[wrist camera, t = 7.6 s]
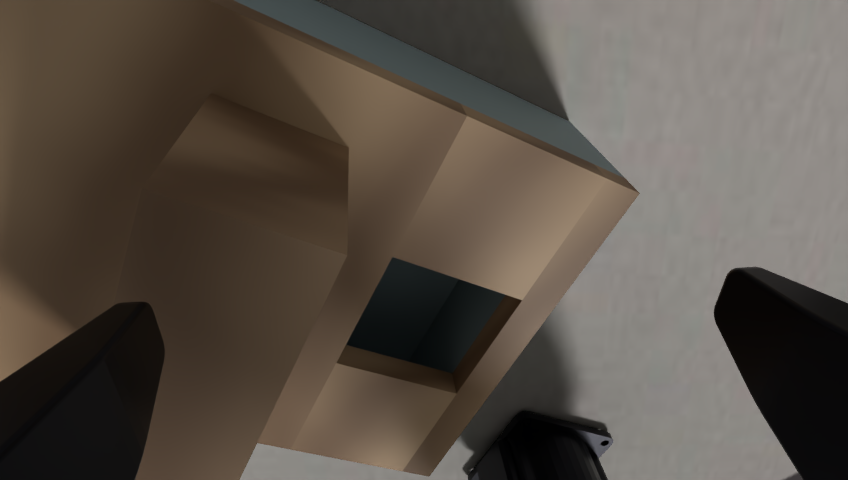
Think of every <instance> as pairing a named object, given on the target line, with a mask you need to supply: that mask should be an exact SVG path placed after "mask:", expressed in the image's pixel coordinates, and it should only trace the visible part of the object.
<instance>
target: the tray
mask: <svg viewBox="0 0 848 480" xmlns="http://www.w3.org/2000/svg"><path fill="white" fill-rule="evenodd" d="M234 1H236V2H238V3H240V4H243V5H245V6H247V7H249V8H251V9H254V10H256V11H258V12H260V13H262V14H265V15H267V16H269V17H271V18H273V19H276V20H278V21H280V22H282V23H284V24H287V25H289V26H291V27H293V28H295V29H298V30H300V31H302V32H304V33H306V34H309V35H311V36H313V37H315V38H317V39H320V40H322V41H324V42H326V43H328V44H331V45H333V46H335V47H337V48H339V49H342V50H344V51H346V52H348V53H350V54H353V55H355V56H357V57H359V58H361V59H364V60H366V61H368V62H370V63H372V64H375V65H377V66H379V67H381V68H383V69H386V70H388V71H390V72H392V73H394V74H397V75H399V76H401V77H403V78H405V79H408V80H410V81H412V82H414V83H416V84H419V85H421V86H423V87H425V88H427V89H430V90H432V91H434V92H436V93H438V94H441V95H443V96H445V97H447V98H449V99H452V100H454V101H456V102H458V103H460V104H463V105H465V106H467V107H469V108H471V109H474V110H476V111H478V112H480V113H482V114H485V115H487V116H489V117H491V118H493V119H496V120H498V121H500V122H502V123H504V124H507V125H509V126H511V127H513V128H515V129H518V130H520V131H522V132H524V133H526V134H529V135H531V136H533V137H535V138H537V139H540V140H542V141H544V142H546V143H548V144H551V145H553V146H555V147H557V148H559V149H562V150H564V151H566V152H568V153H570V154H573V155H575V156H577V157H579V158H581V159H584V160H586V161H588V162H590V163H592V164H595V165H597V166H599V167H601V168H603V169H606V170H608V171H610V172H612V173H614V174H617V175H619V176H621V177H623V176H622V175H621V174H620V173H619V172H618V171H617V170H616V169H615V168H614V167H613V166H612V164H611V163H610V162H609V161H608V160H607V159H606V158H605V157H604V156H603V155H602V154H601V153H600V152H599V151H598V150H597V149H596V148H595V147H594V146H593V145H592V144H591V143H590V142H589V141H588V140H587V139H586V138H585V137H584V136H583V135H582V134H581V133H580V132H579V131H578V130H577V129H576V128H575V127H574V126H573V125H572V123H571V122H569V121H567V120H565V119H563V118H561V117H559V116H557V115H555V114H553V113H551V112H548V111H546V110H544V109H542V108H540V107H538V106H536V105H534V104H532V103H530V102H528V101H525V100H523V99H521V98H519V97H517V96H515V95H513V94H511V93H509V92H507V91H505V90H502V89H500V88H498V87H496V86H494V85H492V84H490V83H488V82H486V81H484V80H481V79H479V78H477V77H475V76H473V75H471V74H469V73H467V72H465V71H463V70H461V69H458V68H456V67H454V66H452V65H450V64H448V63H446V62H444V61H442V60H440V59H438V58H435V57H433V56H431V55H429V54H427V53H425V52H423V51H421V50H419V49H417V48H415V47H412V46H410V45H408V44H406V43H404V42H402V41H400V40H398V39H396V38H394V37H392V36H389V35H387V34H385V33H383V32H381V31H379V30H377V29H375V28H373V27H371V26H369V25H366V24H364V23H362V22H360V21H358V20H356V19H354V18H352V17H350V16H348V15H346V14H343V13H341V12H339V11H337V10H335V9H333V8H331V7H329V6H327V5H325V4H323V3H320V2H318V1H316V0H234ZM623 178H624V177H623ZM504 296H505V294H502V293H499V292H496V291H493V290H490V289H487V288H484V287H481V286H478V285H475V284H472V283H469V282H466V281H463V280H460V279H457V278H454V277H451V276H448V275H445V274H442V273H439V272H436V271H433V270H430V269H427V268H424V267H421V266H418V265H415V264H412V263H409V262H406V261H403V260H400V259H397V258H394V257H392V259H391V261H390V263H389V264H388V266H387V268H386V270H385V272H384V274H383V276H382V278H381V280H380V281H379V283H378V285H377V287H376V289H375V291H374V293H373V295H372V297H371V298H370V300H369V302H368V304H367V306H366V308H365V310H364V312H363V314H362V315H361V317H360V319H359V321H358V323H357V325H356V327H355V329H354V330H353V332H352V334H351V336H350V338H349V340H348V342H347V344H346V345H349V346H352V347H356V348H360V349H363V350H367V351H371V352H375V353H378V354H382V355H386V356H390V357H393V358H397V359H401V360H404V361H408V362H412V363H416V364H419V365H423V366H427V367H431V368H434V369H438V370H442V371H445V372H449V373H453V372H454V370H455V369H456V367H457V366H458V364H459V363H460V361H461V360H462V358H463V357H464V355H465V354H466V352H467V351H468V349H469V348H470V347H471V345H472V344H473V342H474V341H475V339H476V338H477V336H478V335H479V333H480V332H481V330H482V329H483V327H484V326H485V324H486V323H487V321H488V320H489V319H490V317H491V316H492V314H493V313H494V311H495V310H496V308H497V307H498V305H499V304H500V302H501V301H502V299H503V298H504Z"/></svg>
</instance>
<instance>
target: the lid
mask: <svg viewBox="0 0 848 480" xmlns="http://www.w3.org/2000/svg"><path fill="white" fill-rule="evenodd" d="M639 194H640V193H639V192H638V191H637V190H636V189H635V188H634V187H633V186H632V185H631V184H630V183H629V182H628V181H627V180H626V179H625V178H623V177H621V176H619V175H617V174H614V173H612V172H610V171H608V170H606V169H603V168H601V167H599V166H597V165H595V164H592V163H590V162H588V161H586V160H584V159H581V158H579V157H577V156H575V155H573V154H570V153H568V152H566V151H564V150H562V149H559V148H557V147H555V146H553V145H551V144H548V143H546V142H544V141H542V140H540V139H537V138H535V137H533V136H531V135H529V134H526V133H524V132H522V131H520V130H518V129H515V128H513V127H511V126H509V125H507V124H504V123H502V122H500V121H498V120H496V119H493V118H491V117H489V116H487V115H485V114H482V113H480V112H478V111H476V110H474V109H471V108H469V107H467V106H465V105H463V104H460V103H458V102H456V101H454V100H452V99H449V98H447V97H445V96H443V95H441V94H438V93H436V92H434V91H432V90H430V89H427V88H425V87H423V86H421V85H419V84H416V83H414V82H412V81H410V80H408V79H405V78H403V77H401V76H399V75H397V74H394V73H392V72H390V71H388V70H386V69H383V68H381V67H379V66H377V65H375V64H372V63H370V62H368V61H366V60H364V59H361V58H359V57H357V56H355V55H353V54H350V53H348V52H346V51H344V50H342V49H339V48H337V47H335V46H333V45H331V44H328V43H326V42H324V41H322V40H320V39H317V38H315V37H313V36H311V35H309V34H306V33H304V32H302V31H300V30H298V29H295V28H293V27H291V26H289V25H287V24H284V23H282V22H280V21H278V20H276V19H273V18H271V17H269V16H267V15H265V14H262V13H260V12H258V11H256V10H254V9H251V8H249V7H247V6H245V5H243V4H240V3H238V2H236V1H234V0H0V381H2V380H3V379H5V378H6V377H8V376H9V375H11V374H12V373H14V372H15V371H17V370H18V369H20V368H21V367H23V366H24V365H26V364H27V363H29V362H30V361H32V360H33V359H35V358H36V357H38V356H39V355H40V354H42V353H43V352H45V351H46V350H48V349H49V348H51V347H52V346H54V345H55V344H57V343H58V342H60V341H61V340H63V339H64V338H66V337H67V336H69V335H70V334H72V333H73V332H75V331H76V330H78V329H79V328H81V327H82V326H84V325H85V324H87V323H88V322H90V321H91V320H93V319H94V318H96V317H97V316H99V315H100V314H102V313H103V312H105V311H106V310H108V309H109V308H111V307H112V306H114V305H115V304H118V303H123V302H141V301H144V302H147V303H149V304H150V305H151V307H152V309H153V311H154V314H155V317H156V320H157V323H158V326H159V329H160V332H161V335H162V339H163V342H164V346H165V358H164V364H163V368H162V373H161V377H160V382H159V387H158V391H157V396H156V400H155V405H154V410H153V414H152V419H151V423H150V428H149V433H148V437H147V441H146V445H145V449H144V453H143V457H142V460H141V463H140V466H139V470H138V473H137V475H136V478H135V480H239V479H240V477H241V475H242V473H243V471H244V469H245V467H246V465H247V463H248V461H249V459H250V457H251V455H252V452H253V450H254V448H255V446H256V444H257V443H260V444H265V445H271V446H276V447H281V448H286V449H291V450H296V451H301V452H306V453H312V454H317V455H322V456H327V457H332V458H337V459H342V460H347V461H353V462H358V463H363V464H368V465H373V466H378V467H383V468H388V469H393V470H399V471H404V472H409V473H414V474H419V475H424V476H430V475H431V473H432V472H433V471H434V469H435V468H436V466H437V465H438V464H439V462H440V461H441V460H442V458H443V457H444V456H445V454H446V453H447V452H448V450H449V449H450V448H451V446H452V445H453V444H454V442H455V441H456V440H457V438H458V437H459V436H460V434H461V433H462V432H463V430H464V429H465V428H466V426H467V425H468V423H469V422H470V421H471V419H472V418H473V417H474V415H475V414H476V413H477V411H478V410H479V409H480V407H481V406H482V405H483V403H484V402H485V401H486V399H487V398H488V397H489V395H490V394H491V393H492V391H493V390H494V389H495V387H496V386H497V384H498V383H499V382H500V380H501V379H502V378H503V376H504V375H505V374H506V372H507V371H508V370H509V368H510V367H511V366H512V364H513V363H514V362H515V360H516V359H517V358H518V356H519V355H520V354H521V352H522V351H523V350H524V348H525V347H526V345H527V344H528V343H529V341H530V340H531V339H532V337H533V336H534V335H535V333H536V332H537V331H538V329H539V328H540V327H541V325H542V324H543V323H544V321H545V320H546V319H547V317H548V316H549V315H550V313H551V312H552V311H553V309H554V308H555V306H556V305H557V304H558V302H559V301H560V300H561V298H562V297H563V296H564V294H565V293H566V292H567V290H568V289H569V288H570V286H571V285H572V284H573V282H574V281H575V280H576V278H577V277H578V276H579V274H580V273H581V272H582V270H583V269H584V267H585V266H586V265H587V263H588V262H589V261H590V259H591V258H592V257H593V255H594V254H595V253H596V251H597V250H598V249H599V247H600V246H601V245H602V243H603V242H604V241H605V239H606V238H607V237H608V235H609V234H610V233H611V231H612V230H613V228H614V227H615V226H616V224H617V223H618V222H619V220H620V219H621V218H622V216H623V215H624V214H625V212H626V211H627V210H628V208H629V207H630V206H631V204H632V203H633V202H634V200H635V199H636V198H637V196H638V195H639ZM392 257H394V258H397V259H400V260H403V261H406V262H409V263H412V264H415V265H418V266H421V267H424V268H427V269H430V270H433V271H436V272H439V273H442V274H445V275H448V276H451V277H454V278H457V279H460V280H463V281H466V282H469V283H472V284H475V285H478V286H481V287H484V288H487V289H490V290H493V291H496V292H499V293H502V294H505V296H504V298H503V299H502V301H501V302H500V304H499V305H498V307H497V308H496V310H495V311H494V313H493V314H492V316H491V317H490V319H489V320H488V321H487V323H486V324H485V326H484V327H483V329H482V330H481V332H480V333H479V335H478V336H477V338H476V339H475V341H474V342H473V344H472V345H471V347H470V348H469V349H468V351H467V352H466V354H465V355H464V357H463V358H462V360H461V361H460V363H459V364H458V366H457V367H456V369H455V370H454V372H453V373H449V372H445V371H442V370H438V369H434V368H431V367H427V366H423V365H419V364H416V363H412V362H408V361H404V360H401V359H397V358H393V357H390V356H386V355H382V354H378V353H375V352H371V351H367V350H363V349H360V348H356V347H352V346H349V345H346V344H347V342H348V340H349V338H350V336H351V334H352V332H353V330H354V329H355V327H356V325H357V323H358V321H359V319H360V317H361V315H362V314H363V312H364V310H365V308H366V306H367V304H368V302H369V300H370V298H371V297H372V295H373V293H374V291H375V289H376V287H377V285H378V283H379V281H380V280H381V278H382V276H383V274H384V272H385V270H386V268H387V266H388V264H389V263H390V261H391V259H392Z"/></svg>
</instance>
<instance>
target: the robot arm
mask: <svg viewBox="0 0 848 480" xmlns="http://www.w3.org/2000/svg"><path fill="white" fill-rule="evenodd" d="M714 318H715V322H716V324H717V326H718V328H719V330H720V332H721V334H722V336H723V338H724V341H725V343H726V345H727V347H728V349H729V351H730V353H731V355H732V357H733V359H734V361H735V363H736V365H737V367H738V369H739V371H740V373H741V375H742V377H743V379H744V381H745V383H746V385H747V387H748V389H749V391H750V393H751V395H752V397H753V399H754V401H755V403H756V404H757V406H758V408H759V410H760V411H761V413H762V415H763V416H764V418H765V420H766V421H767V423H768V424H769V426H770V428H771V429H772V431H773V432H774V434H775V436H776V437H777V439H778V441H779V442H780V444H781V445H782V447H783V449H784V450H785V452H786V453H787V455H788V457H789V458H790V460H791V461H792V463H793V465H794V466H795V468H796V469H797V471H798V473H799V474H800V476H801V477H802V479H803V480H848V303H846V302H843V301H841V300H838V299H836V298H834V297H831V296H829V295H826V294H824V293H821V292H819V291H816V290H814V289H812V288H809V287H807V286H804V285H802V284H799V283H797V282H794V281H792V280H790V279H787V278H785V277H782V276H780V275H777V274H775V273H772V272H770V271H768V270H765V269H763V268H759V267H745V268H735V269H732V270H731V271H730V272H729V273H728V274H727V276H726V278H725V281H724V284H723V286H722V289H721V292H720V294H719V297H718V300H717V302H716V305H715V308H714ZM164 358H165V346H164V342H163V339H162V335H161V332H160V329H159V326H158V323H157V320H156V317H155V314H154V311H153V309H152V307H151V305H150V304H149V303H147V302H144V301H141V302H123V303H118V304H115V305H114V306H112V307H111V308H109V309H108V310H106V311H105V312H103V313H102V314H100V315H99V316H97V317H96V318H94V319H93V320H91V321H90V322H88V323H87V324H85V325H84V326H82V327H81V328H79V329H78V330H76V331H75V332H73V333H72V334H70V335H69V336H67V337H66V338H64V339H63V340H61V341H60V342H58V343H57V344H55V345H54V346H52V347H51V348H49V349H48V350H46V351H45V352H43V353H42V354H40V355H39V356H38V357H36V358H35V359H33V360H32V361H30V362H29V363H27V364H26V365H24V366H23V367H21V368H20V369H18V370H17V371H15V372H14V373H12V374H11V375H9V376H8V377H6V378H5V379H3V380H2V381H0V480H135V478H136V475H137V473H138V470H139V466H140V463H141V460H142V457H143V453H144V449H145V445H146V441H147V437H148V433H149V428H150V423H151V419H152V414H153V410H154V405H155V400H156V396H157V391H158V387H159V382H160V377H161V373H162V368H163V364H164ZM612 443H613V439H612V437H611V435H610V433H608V432H605V431H601V430H597V429H594V428H590V427H586V426H582V425H578V424H574V423H570V422H566V421H562V420H558V419H554V418H550V417H547V416H543V415H539V414H535V413H531V412H521V413H519V414H517V415H516V416H515V418H514V419H513V420H512V421H511V423H510V424H509V425H508V426H507V428H506V429H505V430H504V431H503V433H502V434H501V435H500V436H499V438H498V439H497V440H496V441H495V443H494V444H493V445H492V446H491V448H490V449H489V450H488V452H487V453H486V454H485V455H484V457H483V458H482V459H481V460H480V462H479V463H478V464H477V465H476V467H475V468H474V469H473V470H472V472H471V473H470V474H469V476H468V480H608V479H607V477H606V475H605V472H604V470H603V468H602V466H601V463H600V461H599V457H600V456H601V455H602V454H603V453H604V452H605V451H606V450H607V449H608V448H609V447H610V446H611V445H612Z"/></svg>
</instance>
